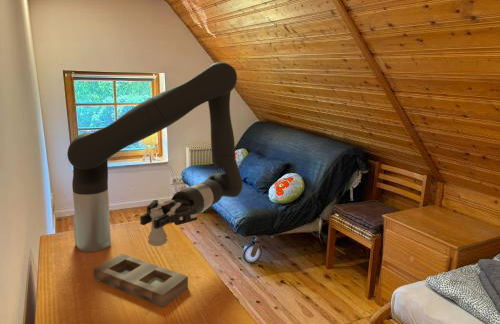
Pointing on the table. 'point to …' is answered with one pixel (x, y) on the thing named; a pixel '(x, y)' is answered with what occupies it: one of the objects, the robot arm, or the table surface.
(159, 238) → the rook chess piece
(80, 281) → the table surface
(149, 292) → the slot rail
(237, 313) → the table surface
